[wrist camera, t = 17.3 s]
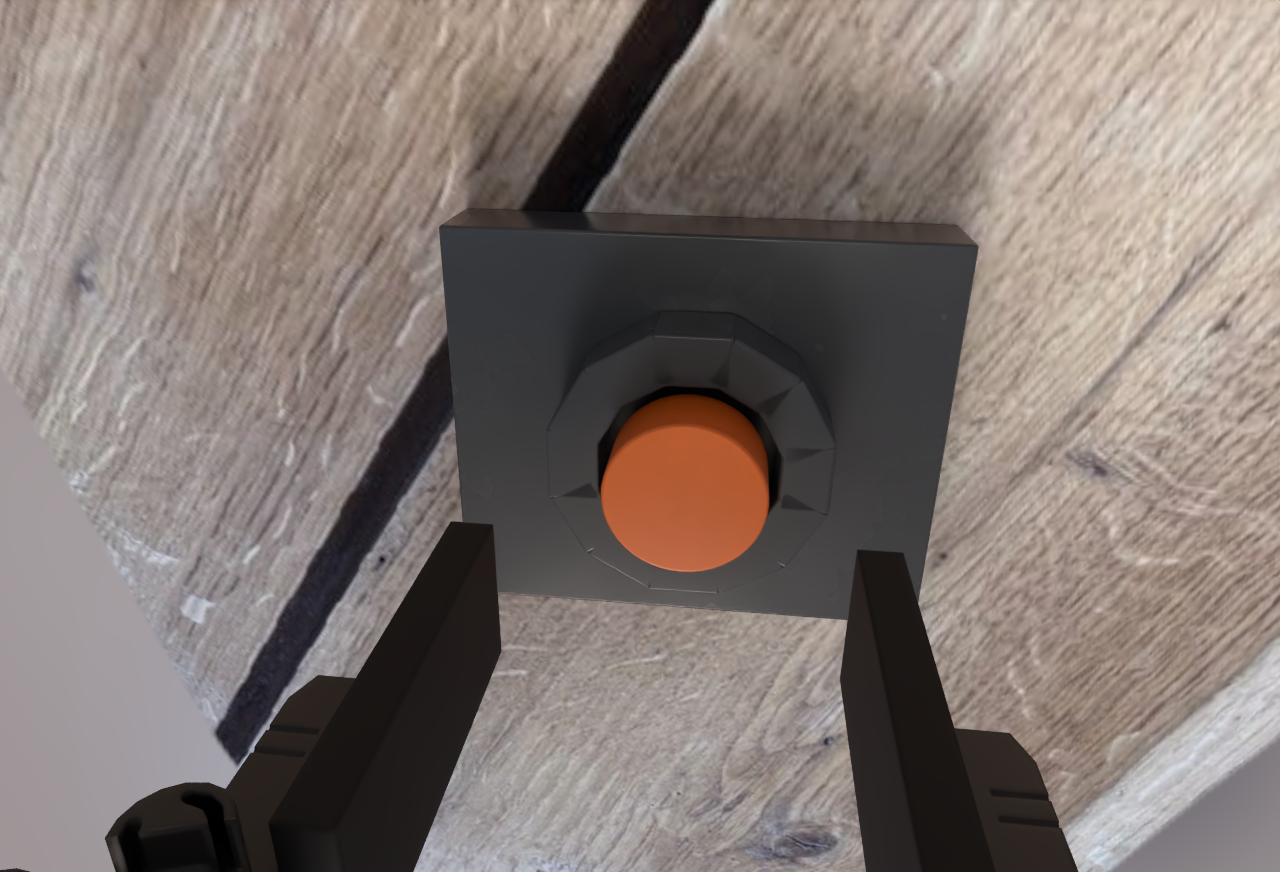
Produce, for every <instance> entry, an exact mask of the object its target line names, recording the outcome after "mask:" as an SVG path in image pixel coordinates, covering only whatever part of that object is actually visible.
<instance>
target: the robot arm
mask: <svg viewBox="0 0 1280 872" xmlns="http://www.w3.org/2000/svg"><path fill="white" fill-rule="evenodd" d="M500 653H501V637H500V621H499V606H498V590H497V575H496V559H495V544H494V529H493V524H480V523H466V522H450V524H449V525H448V527H447V529H446V530H445V532H444V534H443V535H442V537H441V539H440V540H439V542H438V544H437V545H436V547H435V549H434V550H433V552H432V553H431V555H430V557H429V558H428V560H427V562H426V563H425V565H424V567H423V568H422V570H421V572H420V573H419V575H418V577H417V578H416V580H415V581H414V583H413V585H412V586H411V588H410V590H409V591H408V593H407V595H406V596H405V598H404V600H403V601H402V603H401V605H400V606H399V608H398V610H397V611H396V613H395V614H394V616H393V618H392V619H391V621H390V623H389V624H388V626H387V628H386V629H385V631H384V633H383V634H382V636H381V638H380V639H379V641H378V643H377V644H376V646H375V647H374V649H373V651H372V652H371V654H370V656H369V657H368V659H367V661H366V662H365V664H364V666H363V667H362V669H361V671H360V672H359V674H358V675H357V677H356V678H345V677H333V676H322V675H318V676H316V677H315V678H314V679H313V680H311V681H310V682H309V683H307V684H306V685H305V686H303V687H302V688H301V689H299V690H298V691H297V692H295V693H294V694H293V695H291V696H290V697H289V698H288V699H287V701H286V702H285V704H284V705H283V706H282V708H281V709H280V711H279V712H278V714H277V715H276V717H275V718H274V720H273V721H272V722H271V724H270V729H269V730H266V731H265V733H264V734H263V735H262V737H261V738H260V740H259V741H258V743H257V744H256V746H255V750H254V752H253V753H250V754H249V756H248V757H247V759H246V760H245V762H244V763H243V764H242V766H241V767H240V769H239V770H238V772H237V773H236V775H235V776H234V778H233V779H232V780H231V782H230V784H229V785H228V786H227V788H226V789H224V788H221V787H219V786H216V785H214V784H211V783H183V784H179V785H175V786H172V787H168V788H164V789H161V790H159V791H157V792H155V793H153V794H151V795H149V796H147V797H145V798H143V799H141V800H139V801H138V802H136V803H135V804H134V805H133V806H132V807H130V808H129V809H128V810H127V811H126V812H125V813H123V814H122V815H121V816H120V817H119V818H118V819H117V820H116V822H115V823H114V825H113V826H112V828H111V830H110V831H109V832H108V834H107V836H106V837H105V840H106V843H107V846H108V849H109V852H110V855H111V858H112V861H113V864H114V867H115V871H116V872H413V871H414V869H415V866H416V864H417V861H418V859H419V856H420V854H421V851H422V849H423V846H424V843H425V841H426V838H427V836H428V833H429V831H430V828H431V826H432V823H433V821H434V818H435V816H436V813H437V811H438V808H439V806H440V803H441V801H442V798H443V796H444V793H445V791H446V788H447V786H448V783H449V781H450V778H451V776H452V773H453V771H454V768H455V766H456V763H457V761H458V758H459V756H460V753H461V751H462V748H463V746H464V743H465V741H466V738H467V736H468V733H469V731H470V728H471V726H472V723H473V721H474V718H475V716H476V713H477V711H478V708H479V706H480V703H481V701H482V698H483V696H484V693H485V691H486V688H487V686H488V683H489V681H490V678H491V676H492V673H493V671H494V668H495V666H496V663H497V661H498V658H499V656H500ZM840 683H841V690H842V697H843V705H844V712H845V719H846V727H847V734H848V742H849V749H850V756H851V764H852V771H853V778H854V786H855V793H856V800H857V808H858V815H859V822H860V830H861V837H862V844H863V852H864V859H865V867H866V872H1078V870H1077V867H1076V864H1075V862H1074V859H1073V857H1072V854H1071V851H1070V849H1069V846H1068V844H1067V841H1066V839H1065V836H1064V833H1063V831H1062V828H1059V820H1058V818H1057V815H1056V813H1055V810H1054V807H1053V805H1052V802H1051V801H1049V799H1048V796H1049V795H1048V792H1047V789H1046V787H1045V784H1044V782H1043V779H1042V776H1041V774H1040V771H1039V769H1038V766H1037V764H1036V762H1035V761H1034V760H1033V758H1032V757H1031V756H1030V755H1029V754H1028V753H1027V752H1026V751H1025V750H1024V748H1023V747H1022V746H1021V745H1020V744H1019V743H1018V742H1017V741H1016V740H1015V738H1014V737H1013V736H1012V735H1011V734H1010V733H1003V732H991V731H980V730H968V729H957V728H954V726H953V722H952V719H951V716H950V712H949V709H948V705H947V702H946V698H945V695H944V691H943V688H942V684H941V681H940V678H939V674H938V671H937V667H936V664H935V660H934V657H933V653H932V650H931V646H930V643H929V639H928V636H927V633H926V629H925V626H924V622H923V619H922V615H921V612H920V608H919V605H918V601H917V598H916V594H915V591H914V588H913V584H912V581H911V577H910V574H909V570H908V567H907V563H906V560H905V556H904V553H902V552H887V551H873V550H858V549H857V554H856V562H855V569H854V577H853V584H852V592H851V600H850V607H849V615H848V622H847V630H846V637H845V645H844V653H843V660H842V668H841V675H840ZM0 872H29V871H25V870H21V869H17V868H16V869H7V870H0Z"/></svg>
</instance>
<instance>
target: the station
mask: <svg viewBox="0 0 1280 872" xmlns="http://www.w3.org/2000/svg"><path fill="white" fill-rule="evenodd" d="M439 232H440V245H441V257H442V269H443V282H444V294H445V306H446V319H447V331H448V344H449V356H450V368H451V381H452V393H453V405H454V418H455V430H456V442H457V455H458V467H459V480H460V492H461V504H462V517H463V522H466V523H480V524H493V529H494V544H495V559H496V575H497V590H498V593H502V594H515V595H528V596H541V597H554V598H567V599H580V600H593V601H606V602H620V603H633V604H646V605H659V606H672V607H685V608H698V609H711V610H724V611H737V612H750V613H763V614H776V615H790V616H803V617H816V618H829V619H842V620H848V615H849V607H850V600H851V592H852V584H853V577H854V569H855V562H856V554H857V549H858V550H873V551H887V552H902V553H904V556H905V560H906V563H907V567H908V570H909V574H910V577H911V581H912V584H913V588H914V591H915V594H916V598H917V601H918V600H919V595H920V589H921V583H922V577H923V571H924V565H925V559H926V553H927V548H928V542H929V536H930V530H931V524H932V518H933V512H934V507H935V501H936V495H937V489H938V483H939V477H940V471H941V465H942V460H943V454H944V448H945V442H946V436H947V430H948V424H949V418H950V413H951V407H952V401H953V395H954V389H955V383H956V377H957V372H958V366H959V360H960V354H961V348H962V342H963V336H964V330H965V325H966V319H967V313H968V307H969V301H970V295H971V289H972V284H973V278H974V272H975V266H976V260H977V254H978V248H979V247H978V245H977V244H976V243H975V242H974V241H973V240H972V239H971V238H970V237H969V236H968V235H967V234H966V233H965V232H964V231H963V230H962V229H961V228H960V227H959V226H957V225H940V224H910V223H881V222H851V221H822V220H793V219H763V218H734V217H705V216H675V215H646V214H616V213H587V212H558V211H528V210H499V209H470V208H468V209H465V210H464V211H462V212H461V213H459V214H458V215H456V216H454V217H453V218H451V219H450V220H448V221H447V222H445V223H444V224H442V225H440V227H439ZM679 394H694V395H703V396H707V397H711V398H714V399H717V400H720V401H722V402H724V403H726V404H728V405H730V406H732V407H733V408H735V409H736V410H738V411H739V412H741V413H742V414H743V415H744V416H745V417H746V418H747V419H748V420H749V421H750V422H751V423H752V425H753V426H754V427H755V428H756V430H757V432H758V433H759V435H760V437H761V439H762V441H763V443H764V446H765V450H766V453H767V460H768V479H769V509H768V515H767V518H766V522H765V525H764V527H763V529H762V531H761V533H760V534H759V536H758V537H757V539H756V540H755V542H754V543H753V544H752V545H751V546H750V547H749V548H748V549H747V550H746V551H745V552H744V553H742V554H741V555H740V556H739V557H737V558H735V559H734V560H732V561H731V562H728V563H726V564H724V565H722V566H719V567H716V568H713V569H709V570H704V571H697V572H679V571H671V570H667V569H663V568H659V567H657V566H654V565H651V564H649V563H647V562H645V561H643V560H641V559H640V558H638V557H637V556H635V555H633V554H632V553H631V552H630V551H629V550H627V549H626V548H625V547H624V546H623V545H622V544H621V543H620V542H619V541H618V539H617V538H616V537H615V535H614V534H613V532H612V531H611V529H610V527H609V525H608V523H607V521H606V518H605V516H604V513H603V508H602V503H601V485H602V480H603V476H604V473H605V469H606V466H607V463H608V460H609V457H610V454H611V451H612V448H613V445H614V442H615V440H616V437H617V435H618V433H619V431H620V429H621V428H622V426H623V425H624V424H625V422H626V421H627V420H628V419H629V418H630V417H631V416H632V415H633V414H634V413H635V412H636V411H638V410H639V409H640V408H642V407H643V406H645V405H647V404H648V403H650V402H652V401H655V400H657V399H660V398H663V397H667V396H672V395H679Z"/></svg>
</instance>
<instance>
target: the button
mask: <svg viewBox="0 0 1280 872" xmlns="http://www.w3.org/2000/svg"><path fill="white" fill-rule="evenodd" d="M601 503H602V508H603V513H604V516H605V518H606V521H607V523H608V525H609V527H610V529H611V531H612V532H613V534H614V535H615V537H616V538H617V539H618V541H619V542H620V543H621V544H622V545H623V546H624V547H625V548H626V549H627V550H629V551H630V552H631V553H632V554H633V555H635V556H637V557H638V558H640V559H641V560H643V561H645V562H647V563H649V564H651V565H654V566H657V567H659V568H663V569H667V570H671V571H679V572H697V571H704V570H709V569H713V568H716V567H719V566H722V565H724V564H726V563H728V562H731V561H732V560H734V559H735V558H737V557H739V556H740V555H741V554H742V553H744V552H745V551H746V550H747V549H748V548H749V547H750V546H751V545H752V544H753V543H754V542H755V540H756V539H757V537H758V536H759V534H760V533H761V531H762V529H763V527H764V525H765V522H766V518H767V515H768V509H769V479H768V460H767V453H766V450H765V446H764V443H763V441H762V439H761V437H760V435H759V433H758V432H757V430H756V428H755V427H754V426H753V425H752V423H751V422H750V421H749V420H748V419H747V418H746V417H745V416H744V415H743V414H742V413H741V412H739V411H738V410H736V409H735V408H733V407H732V406H730V405H728V404H726V403H724V402H722V401H720V400H717V399H714V398H711V397H707V396H703V395H694V394H679V395H672V396H667V397H663V398H660V399H657V400H655V401H652V402H650V403H648V404H647V405H645V406H643V407H642V408H640V409H639V410H638V411H636V412H635V413H634V414H633V415H632V416H631V417H630V418H629V419H628V420H627V421H626V422H625V424H624V425H623V426H622V428H621V429H620V431H619V433H618V435H617V437H616V440H615V442H614V445H613V448H612V451H611V454H610V457H609V460H608V463H607V466H606V469H605V473H604V476H603V480H602V485H601Z"/></svg>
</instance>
